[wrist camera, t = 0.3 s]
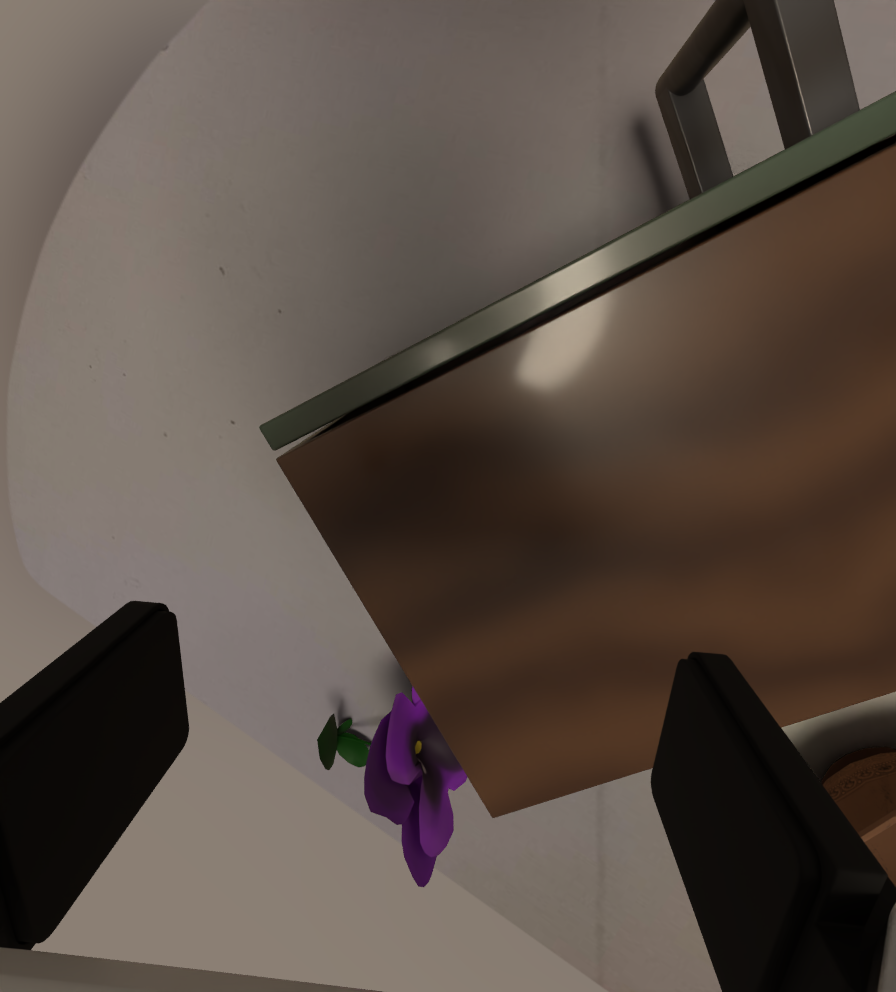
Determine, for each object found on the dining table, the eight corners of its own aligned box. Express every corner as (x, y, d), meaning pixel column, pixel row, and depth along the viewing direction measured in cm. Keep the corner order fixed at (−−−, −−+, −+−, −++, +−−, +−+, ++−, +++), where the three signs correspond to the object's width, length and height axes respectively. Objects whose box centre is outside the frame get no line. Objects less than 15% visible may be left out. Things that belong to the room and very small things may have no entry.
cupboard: (390, 383, 41) (274, 459, 19) (721, 212, 36) (1119, 31, 13) (488, 572, 46) (492, 819, 23) (794, 444, 41) (1184, 601, 18)
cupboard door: (337, 282, 39) (139, 231, 17) (681, 86, 34) (1064, -369, 12) (388, 380, 41) (272, 452, 19) (720, 208, 36) (1110, 23, 14)
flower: (401, 739, 59) (508, 762, 51) (305, 866, 47) (423, 923, 39) (354, 628, 54) (461, 635, 47) (236, 738, 43) (352, 772, 35)
